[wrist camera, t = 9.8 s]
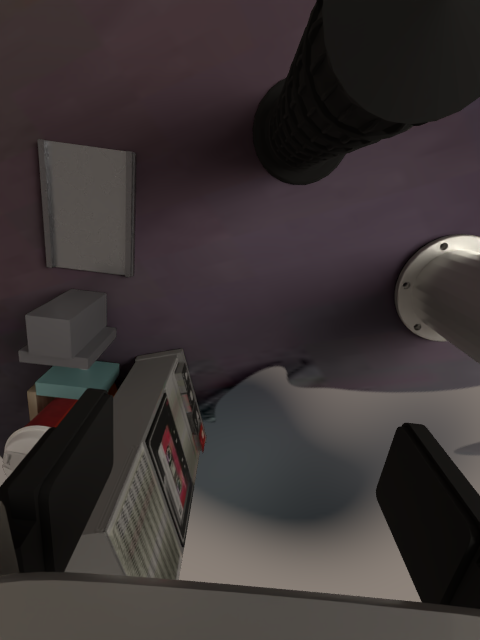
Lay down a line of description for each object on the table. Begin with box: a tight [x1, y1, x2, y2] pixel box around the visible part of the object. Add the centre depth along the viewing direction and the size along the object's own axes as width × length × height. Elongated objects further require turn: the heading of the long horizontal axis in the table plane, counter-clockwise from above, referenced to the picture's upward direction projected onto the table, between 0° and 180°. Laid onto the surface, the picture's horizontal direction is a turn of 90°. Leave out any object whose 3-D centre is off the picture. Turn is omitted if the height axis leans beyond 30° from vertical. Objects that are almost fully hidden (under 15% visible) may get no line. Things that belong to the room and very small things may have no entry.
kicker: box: [18, 289, 119, 400], centre depth 37 cm, size 7×11×9 cm, turn 173°
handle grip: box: [253, 0, 480, 185], centre depth 23 cm, size 10×26×10 cm
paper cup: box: [3, 382, 117, 477], centre depth 39 cm, size 8×8×14 cm
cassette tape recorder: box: [64, 348, 207, 580], centre depth 34 cm, size 14×6×25 cm, turn 11°
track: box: [38, 139, 136, 277], centre depth 37 cm, size 10×13×1 cm
